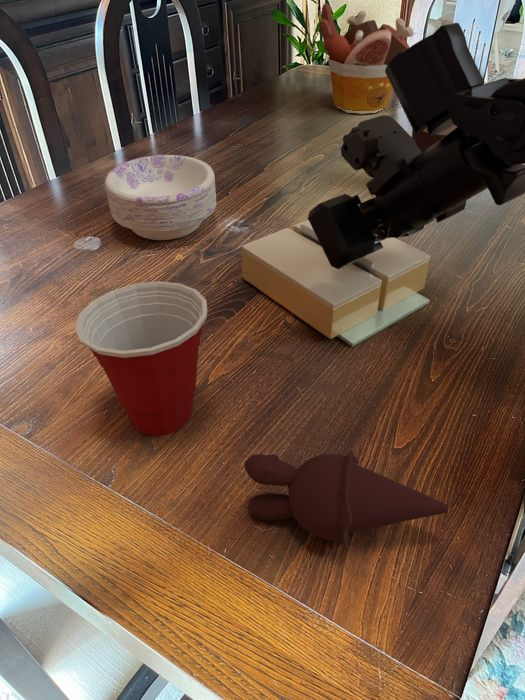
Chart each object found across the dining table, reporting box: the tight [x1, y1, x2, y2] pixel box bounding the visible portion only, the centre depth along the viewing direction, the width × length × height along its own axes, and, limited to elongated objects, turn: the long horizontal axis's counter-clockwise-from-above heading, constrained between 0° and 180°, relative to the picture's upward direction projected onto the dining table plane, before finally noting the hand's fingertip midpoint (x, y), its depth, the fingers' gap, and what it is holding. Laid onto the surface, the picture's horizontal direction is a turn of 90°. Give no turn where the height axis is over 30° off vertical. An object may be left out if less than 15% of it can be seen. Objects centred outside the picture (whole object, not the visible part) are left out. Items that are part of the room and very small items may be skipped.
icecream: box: [244, 449, 449, 549], centre depth 41 cm, size 7×7×15 cm
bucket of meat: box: [318, 3, 415, 111], centre depth 119 cm, size 20×16×20 cm
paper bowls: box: [104, 154, 217, 241], centre depth 79 cm, size 15×15×8 cm
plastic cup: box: [74, 280, 208, 437], centre depth 49 cm, size 11×11×12 cm
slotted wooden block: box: [240, 219, 432, 348], centre depth 67 cm, size 20×16×5 cm
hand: (345, 240), depth 63 cm, fingers closed on slicer, 2 cm apart
